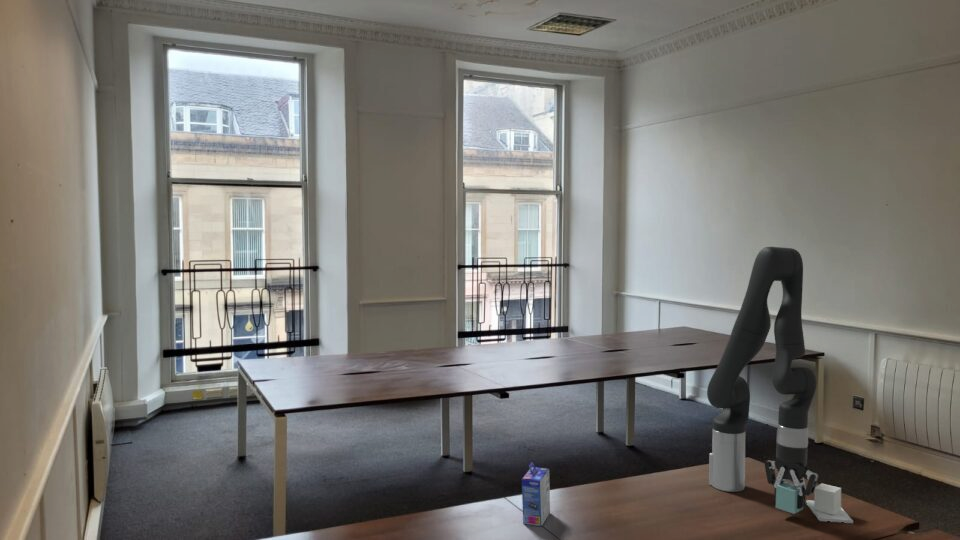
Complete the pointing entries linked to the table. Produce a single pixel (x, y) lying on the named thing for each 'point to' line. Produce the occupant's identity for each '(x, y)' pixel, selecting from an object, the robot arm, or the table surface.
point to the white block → (827, 499)
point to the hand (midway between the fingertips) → (789, 504)
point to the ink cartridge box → (536, 495)
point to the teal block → (787, 497)
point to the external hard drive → (823, 516)
